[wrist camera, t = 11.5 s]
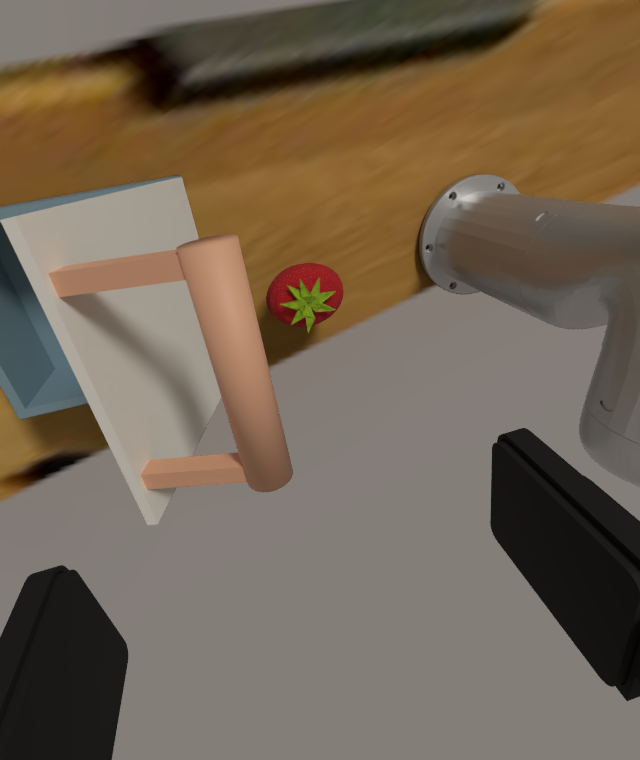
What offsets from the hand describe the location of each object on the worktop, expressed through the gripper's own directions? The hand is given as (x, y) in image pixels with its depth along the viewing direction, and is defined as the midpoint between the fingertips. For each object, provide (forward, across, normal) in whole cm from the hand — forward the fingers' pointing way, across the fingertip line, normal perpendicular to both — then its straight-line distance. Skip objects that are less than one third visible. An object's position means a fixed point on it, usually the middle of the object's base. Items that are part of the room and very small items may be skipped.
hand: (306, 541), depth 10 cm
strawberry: (+39, -6, +5) cm, 39 cm away
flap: (+21, +6, +1) cm, 22 cm away
